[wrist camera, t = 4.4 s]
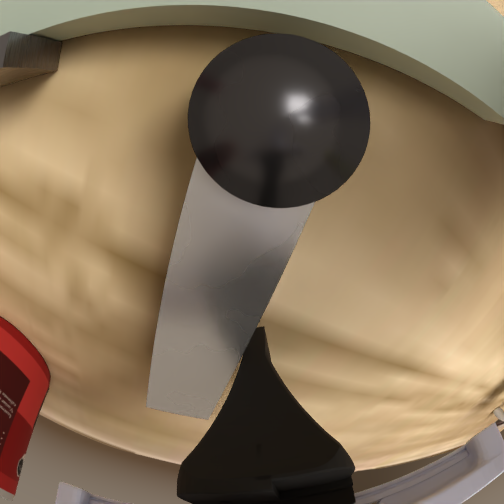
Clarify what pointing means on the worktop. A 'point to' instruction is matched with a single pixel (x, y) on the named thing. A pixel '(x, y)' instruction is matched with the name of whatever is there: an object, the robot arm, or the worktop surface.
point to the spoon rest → (499, 413)
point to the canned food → (18, 402)
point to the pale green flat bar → (317, 33)
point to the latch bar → (248, 202)
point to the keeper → (26, 56)
